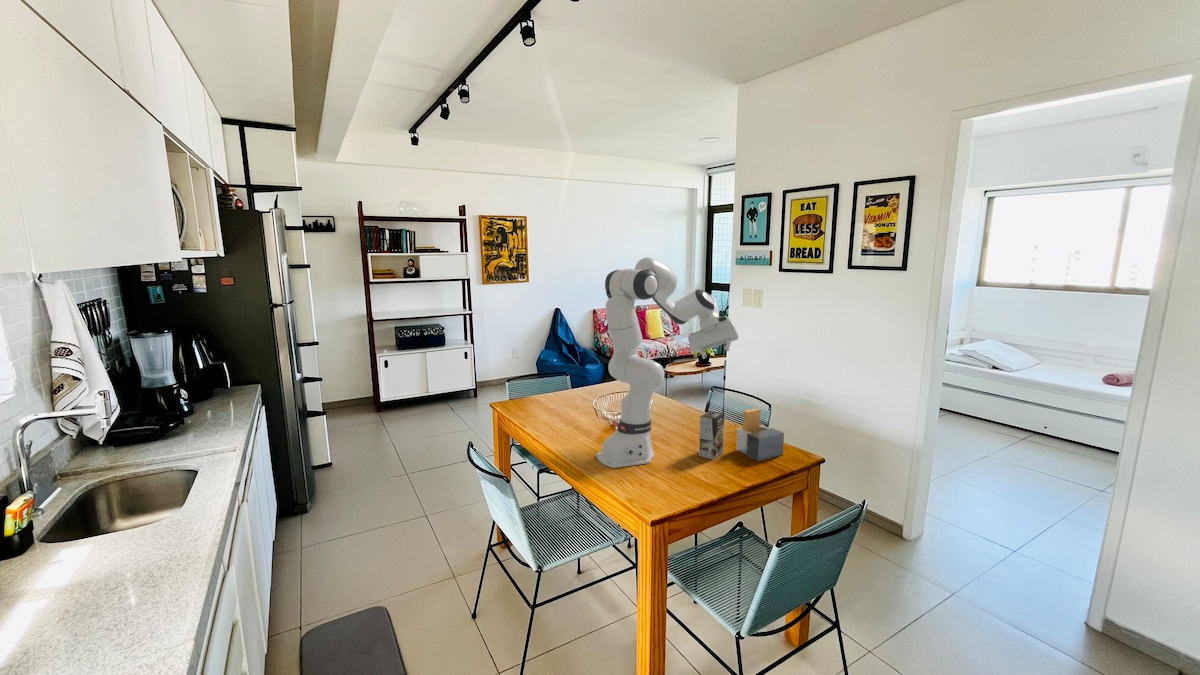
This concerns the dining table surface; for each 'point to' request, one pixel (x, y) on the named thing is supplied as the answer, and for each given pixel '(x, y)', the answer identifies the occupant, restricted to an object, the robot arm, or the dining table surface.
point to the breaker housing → (760, 443)
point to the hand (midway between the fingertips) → (715, 353)
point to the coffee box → (711, 434)
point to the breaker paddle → (751, 420)
